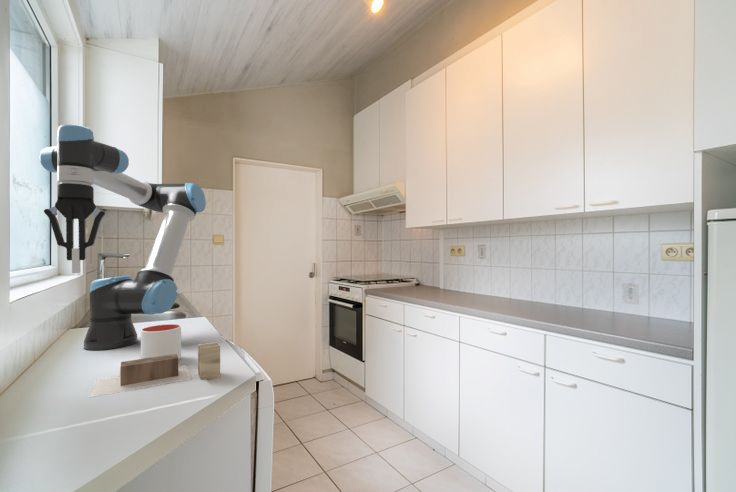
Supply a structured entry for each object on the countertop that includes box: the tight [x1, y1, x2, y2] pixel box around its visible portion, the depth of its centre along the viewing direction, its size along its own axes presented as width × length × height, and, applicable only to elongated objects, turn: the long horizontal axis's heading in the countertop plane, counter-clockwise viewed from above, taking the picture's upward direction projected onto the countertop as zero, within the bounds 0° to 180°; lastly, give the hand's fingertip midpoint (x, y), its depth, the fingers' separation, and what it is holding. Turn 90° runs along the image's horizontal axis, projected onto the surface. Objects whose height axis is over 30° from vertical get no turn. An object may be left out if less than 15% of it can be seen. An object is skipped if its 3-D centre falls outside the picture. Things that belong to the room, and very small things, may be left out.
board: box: [89, 364, 193, 398], centre depth 89 cm, size 13×20×1 cm, turn 122°
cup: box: [140, 323, 182, 361], centre depth 104 cm, size 10×10×10 cm
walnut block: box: [119, 354, 179, 386], centre depth 90 cm, size 4×4×12 cm
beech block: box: [197, 341, 221, 381], centre depth 92 cm, size 4×4×8 cm
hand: (76, 272), depth 97 cm, fingers closed
